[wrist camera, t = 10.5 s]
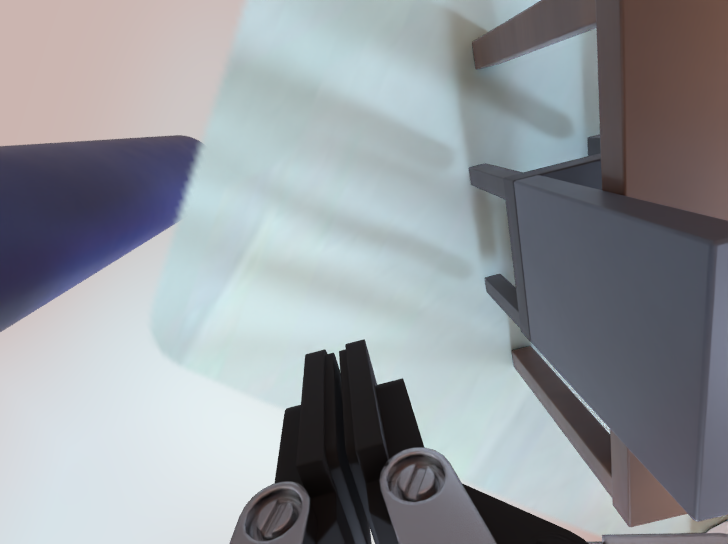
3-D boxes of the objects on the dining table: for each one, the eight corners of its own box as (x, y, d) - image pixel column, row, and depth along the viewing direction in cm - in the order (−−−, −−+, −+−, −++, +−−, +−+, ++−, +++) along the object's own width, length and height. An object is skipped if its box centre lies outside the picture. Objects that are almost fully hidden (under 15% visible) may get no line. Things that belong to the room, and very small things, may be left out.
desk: (511, 368, 25) (629, 528, 15) (469, 39, 19) (620, -56, 9) (706, 320, 25) (955, 451, 15) (728, -27, 19) (1179, -201, 9)
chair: (485, 293, 23) (695, 524, 10) (467, 166, 20) (713, 242, 7) (609, 262, 23) (993, 453, 9) (605, 131, 20) (1113, 143, 7)
